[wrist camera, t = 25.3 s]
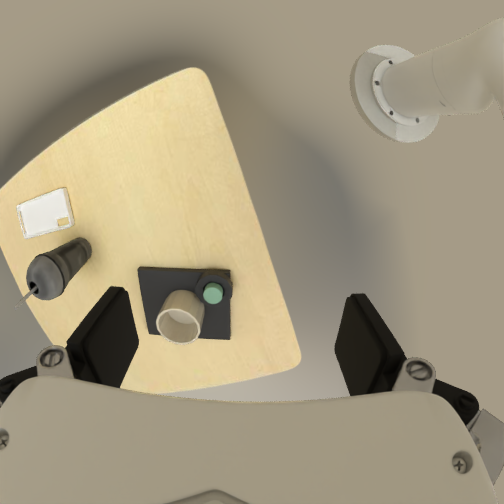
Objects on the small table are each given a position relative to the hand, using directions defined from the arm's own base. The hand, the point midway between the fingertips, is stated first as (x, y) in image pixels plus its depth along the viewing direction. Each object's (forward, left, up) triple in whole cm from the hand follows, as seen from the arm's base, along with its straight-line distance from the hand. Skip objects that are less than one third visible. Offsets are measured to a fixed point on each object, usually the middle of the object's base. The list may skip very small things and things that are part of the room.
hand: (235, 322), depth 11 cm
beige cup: (+10, +20, -31) cm, 38 cm away
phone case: (+39, +3, -32) cm, 50 cm away
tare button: (+5, +15, -30) cm, 34 cm away
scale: (+10, +20, -32) cm, 39 cm away
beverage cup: (+30, +10, -32) cm, 45 cm away
